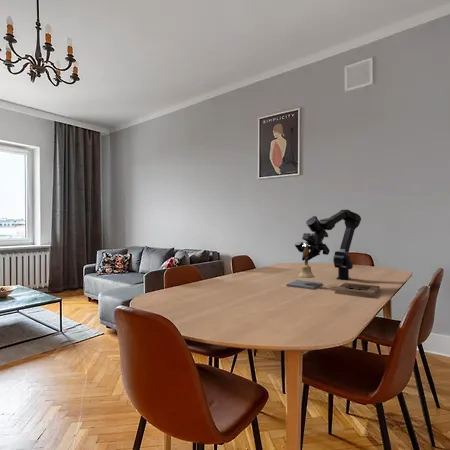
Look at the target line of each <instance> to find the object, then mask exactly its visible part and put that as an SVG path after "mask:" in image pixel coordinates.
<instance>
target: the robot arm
mask: <svg viewBox="0 0 450 450" xmlns="http://www.w3.org/2000/svg"><path fill="white" fill-rule="evenodd" d="M342 220H343V221H344V227H345V230H344V233H343V236H342V240H341V244H340V248H339V250H338V251H336V250H335V252H334V255H333V260H332V261H333V265H334V268H337V270H338V271H337V272H338V273H337V274H338V275H337V277H336V278H335V279H336V280H347V281H348V280H351V277H350V274H349V273H350V272H349V271H350V270H353V266H354V265H353V262H352V261H351V255H350V253H349V252H350V248H351V245H352V240H353V237H354V234H355V231H356V229H357V228H358V227H359V226H360V224H361V221H362V217H361V215H360V214H358V213H356V212H353V211H351V210H350V209H341V210H339V211H338V212H337V213H335V214H334V215H332V216H330V217H326V218H323V219H320V220H319V219H318V217H317V215H314V216H312V217H309V218H308V219H307V220H306V221H305V224H306V225H307V227H308V228H309V230H310V231H311V232H312V233H310V232H304V233H303V234H302V238H301V239H302V240H303V241H305V243H304V242H303V241H301V242H300V241H299V242H298V241H297V242H295V243H294V246H295V248H296V249H297V251H298V252H299V253H302V257H301V258H302V259H301V260H302V261H304V262H305V256H304V249H305V246H308V249H309V254H308V256H307V258H306V261H308V262H309V261H310V260H311V259H314V258H315V257H317V256H320V255H321V254H322V255H326V256H328V255H329V254H330V252H331V251H330V248H329V247H328V245H327V243H324V242H323V240H324V239H325V238H329V234H328V232H327V231H331V230H333V229H334V228H335V227H336V224H338V223H339V222H341V221H342ZM321 252H322V253H321Z"/></svg>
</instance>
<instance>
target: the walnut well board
mask: <svg viewBox="0 0 450 450" xmlns="http://www.w3.org/2000/svg"><path fill="white" fill-rule="evenodd" d="M349 288H353V289H349ZM358 289H361V290H358ZM366 290H367V291H366ZM379 291H380V286H379V285H373V284H371V285H370V284H363V283H354V282H353V283H352V282H344V283H341V285H339V286H337V287H335V289H334V293H335V294H338V295H345V294H348V295H347V296H353V295H356V296H355V297H361V296H363V297H362V298H369V297H370V299H373V298H374V297H375V296H376V295H377V294H378V293H379ZM377 292H378V293H377ZM376 293H377V294H376Z"/></svg>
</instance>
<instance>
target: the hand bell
mask: <svg viewBox="0 0 450 450" xmlns="http://www.w3.org/2000/svg"><path fill="white" fill-rule="evenodd" d="M309 252H310V250H309V249H308V246H305V249H304V256H305V260H304V264H303V265H302V266H301V271H300V273H299V274H298V276H297V277H298V278H303V279H304V278H305V279H314V278H315V275H314V274H313V271H312V268H311V265H309V260H308V261H306V258H307V256H308V254H309Z"/></svg>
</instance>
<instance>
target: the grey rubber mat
mask: <svg viewBox="0 0 450 450" xmlns="http://www.w3.org/2000/svg"><path fill="white" fill-rule="evenodd" d="M322 285H323V282H319V281H311V280H301V279H300V280H299V279H296V280H293V281H291V282H289V283H286V287H290V288H297V289H308V290H315V289H317V288H319V287H321V286H322Z"/></svg>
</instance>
